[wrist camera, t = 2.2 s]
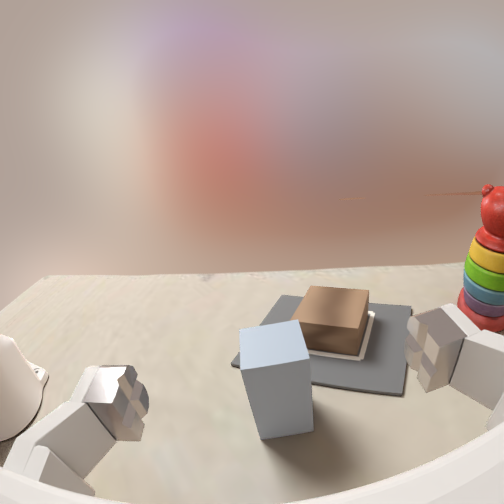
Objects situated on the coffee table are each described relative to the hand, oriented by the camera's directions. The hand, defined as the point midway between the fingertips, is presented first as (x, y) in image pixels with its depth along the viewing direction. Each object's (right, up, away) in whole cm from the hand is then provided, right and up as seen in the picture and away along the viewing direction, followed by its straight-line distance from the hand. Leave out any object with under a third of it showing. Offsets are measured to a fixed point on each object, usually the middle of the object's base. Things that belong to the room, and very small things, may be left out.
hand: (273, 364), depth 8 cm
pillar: (+3, -13, +19) cm, 23 cm away
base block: (+10, -7, +29) cm, 31 cm away
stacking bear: (+32, -6, +24) cm, 41 cm away
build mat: (+9, -8, +28) cm, 31 cm away
